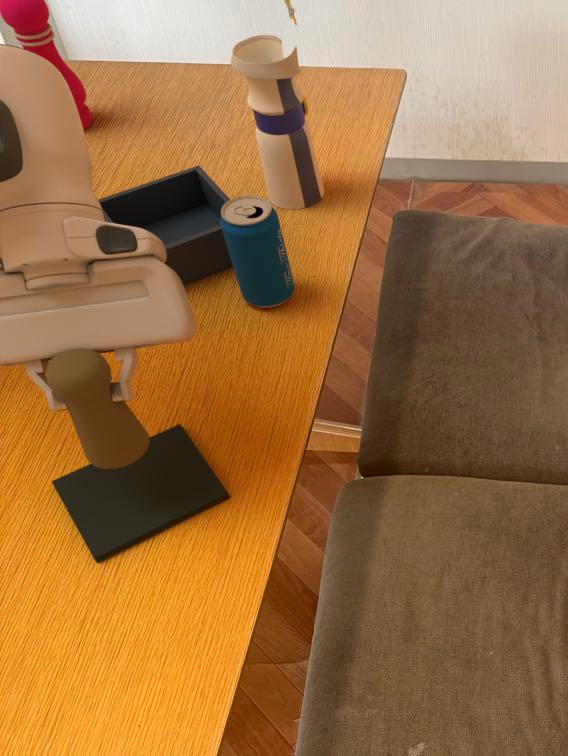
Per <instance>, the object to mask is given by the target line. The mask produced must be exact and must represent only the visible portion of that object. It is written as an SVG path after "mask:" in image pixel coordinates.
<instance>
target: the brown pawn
mask: <svg viewBox="0 0 568 756" xmlns="http://www.w3.org/2000/svg"><path fill="white" fill-rule="evenodd" d="M45 375H46V378H47V382H48V384H49V386H50V387H51V389H52V390H53V392H54V393H55V394H56V395H57V396H58V397H60V398H61V399H63V400H65V402H66V404H67V406H68V409H69V410H68V413H69V416H70V419H71V421H72V423H73V426H74V430H75V431H76V434H77V437H78V440H79V443H80V445H81V448H82V450H83V453H84V457H85V459H86V460H87V461H88V463H89V464H93V465H94V466H96V467H99V468H103V469H116V468H120V467H124V466H127V465H129V464H131V463H133V462H135V461H136V460H138V459H139V458H140V457H141V456H143V454H144V453H145V451H146V450H147V449H148V446H149V442H150V439H149V437H150V434H149V432H148V431H147V430H146V428H145V427H144V426H143V424H142V422H140V420H139V419H138V417H137V415H135V413H134V412H133V411H132V409H131V408H130V407H129V405H128V404H127V402H116V403H114V402H113V400H112V396H111V395H112V392H111V391H110V383H112V381H113V375H112V369H111V366H110V364H109V362H108V361H107V359H106V358H105V357H104V356H103V354H99V353H98V352H96V351H94V350H92V349H85V348H78V349H70V350H66V351H63V352H60V353H59V354H57V355H56V356H54V357H53V358H52V359H51V360H50V361H49V364H48V366H47V370H46V374H45Z"/></svg>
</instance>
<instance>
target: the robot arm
mask: <svg viewBox="0 0 568 756" xmlns="http://www.w3.org/2000/svg"><path fill="white" fill-rule="evenodd" d="M85 133H86V132H85V129H83V126H82V122H81V119H80V116H79V113H78V110H77V107H76V104H75V101H74V98H73V96H72V93H71V91H70V89H69V86H68V84H67V83H66V81H65V79H64V77H63V76H62V74H61V73H60V72H59V71H58V69H57V68H56V67H55V66H54V65H53V64H52V63H50V62H49V61H48V60H46V59H44V58H43V57H41V56H39V55H37V54H35V53H33V52H31V51H28V50H26V49H23V47H19V46H15V45H12V44H6V43H5V44H3V43H0V369H1V368H8V367H14V366H22V365H24V367H25V372H26V375H27V376H28V377H29V378H30V379H31V381H33V382H34V384H35V385H36V386H37V387H38V388H39V389H40V390H41V391H42V392H43V393H45V396H46V399H47V404H48V408H49V410H50V412H51V413H58V412H64V411H69V409H68V406H67V404H66V402H65V400H63V399H61V398H60V397H58V396H57V395H56V394H55V393H54V392H53V390H52V389H51V387H50V386H49V384H48V382H47V378H46V370H47V366H48V364H49V362H50V360H51V359H52V358H53V357H54V356H56V355H57V354H59V353H60V352H63V351H66V350H70V349H78V348H85V349H92V350H94V351H96V352H98V353H99V354H101V355H103V354H109V353H114V356H115V359H116V362H119V363H122V365H121V369H120V373H119V375H118V379H117V381H113V382H111V383H110V391H111V392H112V395H111V396H112V400H113V402H114V403H116V402H126V403H127V402H133V401H134V400H135V395H134V392H133V391H134V390H133V387H132V382H133V379H134V375H135V372H136V371H137V367H138V365H139V362H140V361H139V356H138V351H137V349H144V348H150V347H159V346H164V345H172V344H173V345H174V344H180V343H187V342H191V341H192V339H193V338H194V336H195V335H196V332H197V325H196V319H195V316H194V311H193V308H192V306H191V305H192V304H191V302H190V300H189V299H190V298H189V296H188V294H187V291H186V289H185V286H183V284H182V281H181V279H180V278H179V276H178V275H177V273H176V272H175V271H174V270H173V269H171V268H170V267H169V266H167V265H166V264H165V262H166V259H167V253H166V249H165V246H164V244H163V242H162V241H161V240H160V239H159V238H158V237H157V236H155V235H154V234H152V233H151V232H149V231H147V230H144V229H142V228H138V227H132V226H126V225H120V224H115V223H109V222H105V219H104V215H103V210H102V207H101V205H100V203H99V201H98V196H97V195H96V193H95V191H94V187H93V183H92V167H93V165H92V164H93V162H92V158H91V153H90V149H89V144H88V141H87V137H86V134H85Z"/></svg>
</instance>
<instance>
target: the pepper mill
mask: <svg viewBox="0 0 568 756" xmlns="http://www.w3.org/2000/svg"><path fill="white" fill-rule="evenodd" d="M0 16H1V18H2V20H3V21H4V22H5V24H6V25H8V26H9V27H10V28H12V35H13V36H14V37H15V41H16V43H17V44H19V45H20V46H21V48H23V49H26V50H28V51H31V52H33V53H35V54H37V55H39V56H41V57H43V58H44V59H46V60H48V61H49V62H50V63H52V64H53V65H54V66H55V67H56V68H57V69H58V71H59V72H60V73H61V74H62V76H63V77H64V79H65V81H66V83H67V84H68V86H69V89H70V91H71V93H72V96H73V98H74V101H75V104H76V107H77V110H78V113H79V116H80V119H81V122H82V126H83V129H84V130H86V129H88V128H89V127H90V126H91V125H92V123H93V121H94V120H93V116H92V113H91V111H90V108H89V106H88V105H87V104H85V103H86V99H87V92H86V89H85V86H84V84H83V83H82V81H81V79H80V77H78V75H77V74H76V73H75V72H74V71H73V70H72V69H71V68H70V66H68V64H66V62H65V60H63V58H62V56H61V55H60V53H59V50H58V48H57V47H56V43H55V41H54V38H55V32H54V31H53V27H52V25H51V24H50V23H49V22H48V21H49V18H50V10H49V5H48V4H47V3H46V0H0Z"/></svg>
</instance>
